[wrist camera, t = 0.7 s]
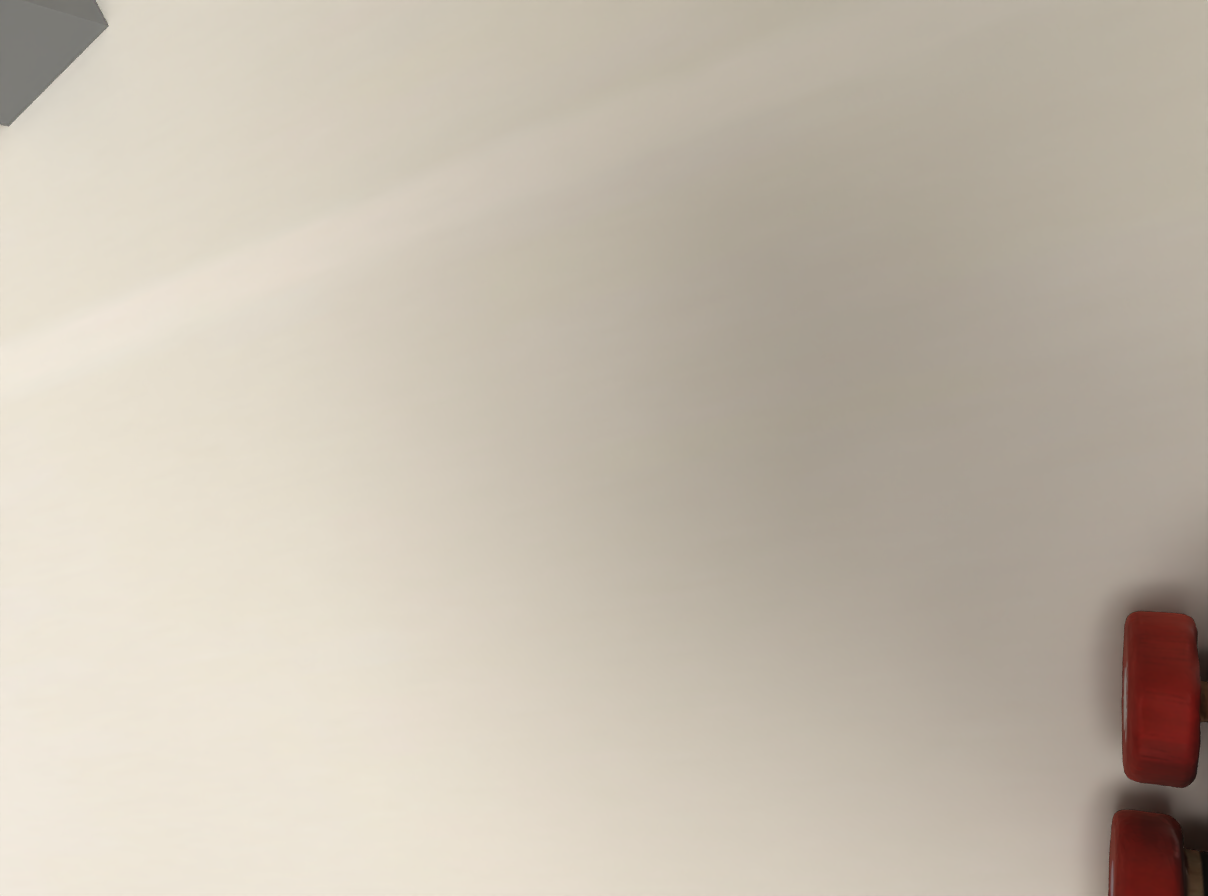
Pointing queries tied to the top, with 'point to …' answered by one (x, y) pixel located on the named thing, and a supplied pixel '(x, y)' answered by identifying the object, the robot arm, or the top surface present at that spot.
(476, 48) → the top surface
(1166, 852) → the toy fire truck
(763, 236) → the top surface
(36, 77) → the slate brick
